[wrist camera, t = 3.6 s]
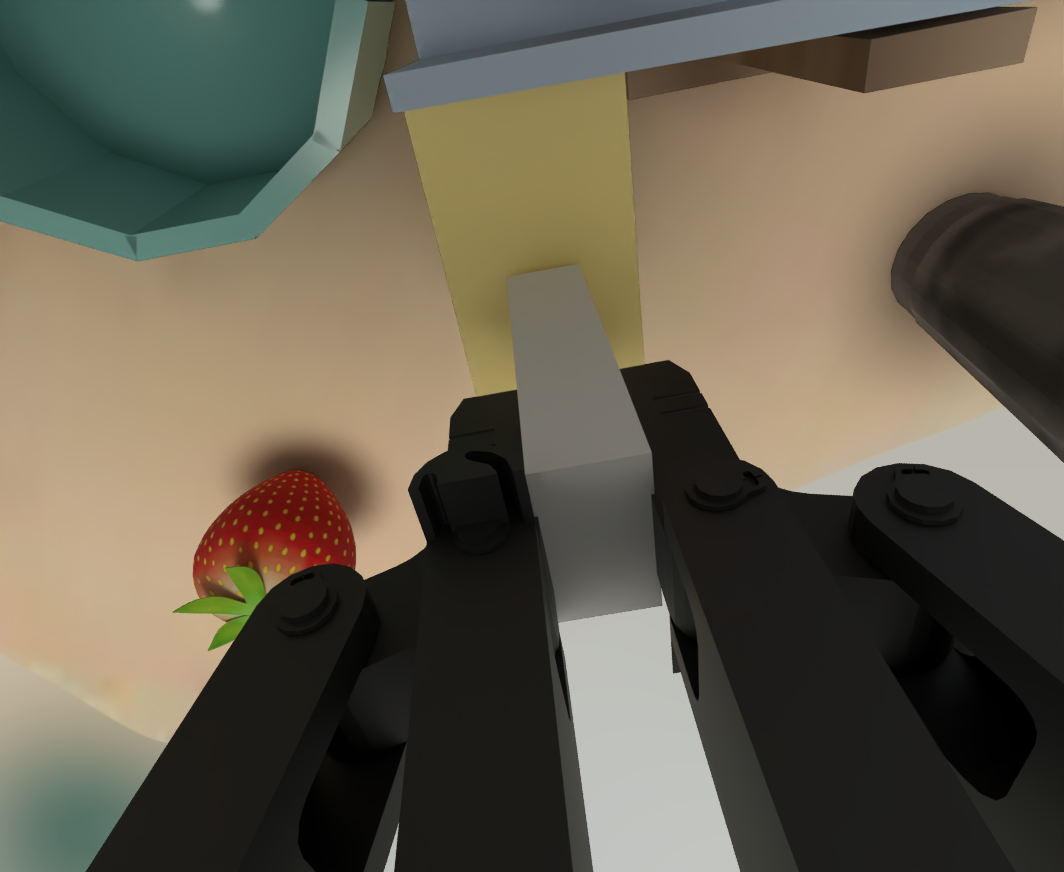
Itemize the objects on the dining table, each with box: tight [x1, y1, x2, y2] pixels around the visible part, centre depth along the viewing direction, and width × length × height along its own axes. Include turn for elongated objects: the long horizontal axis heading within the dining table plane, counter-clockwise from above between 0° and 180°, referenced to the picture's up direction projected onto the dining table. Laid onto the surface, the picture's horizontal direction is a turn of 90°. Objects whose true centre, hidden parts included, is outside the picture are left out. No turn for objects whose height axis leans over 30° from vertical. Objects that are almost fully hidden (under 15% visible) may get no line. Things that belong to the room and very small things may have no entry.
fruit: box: [173, 470, 356, 651], centre depth 23 cm, size 5×5×8 cm
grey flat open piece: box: [383, 0, 1031, 397], centre depth 9 cm, size 18×13×3 cm
